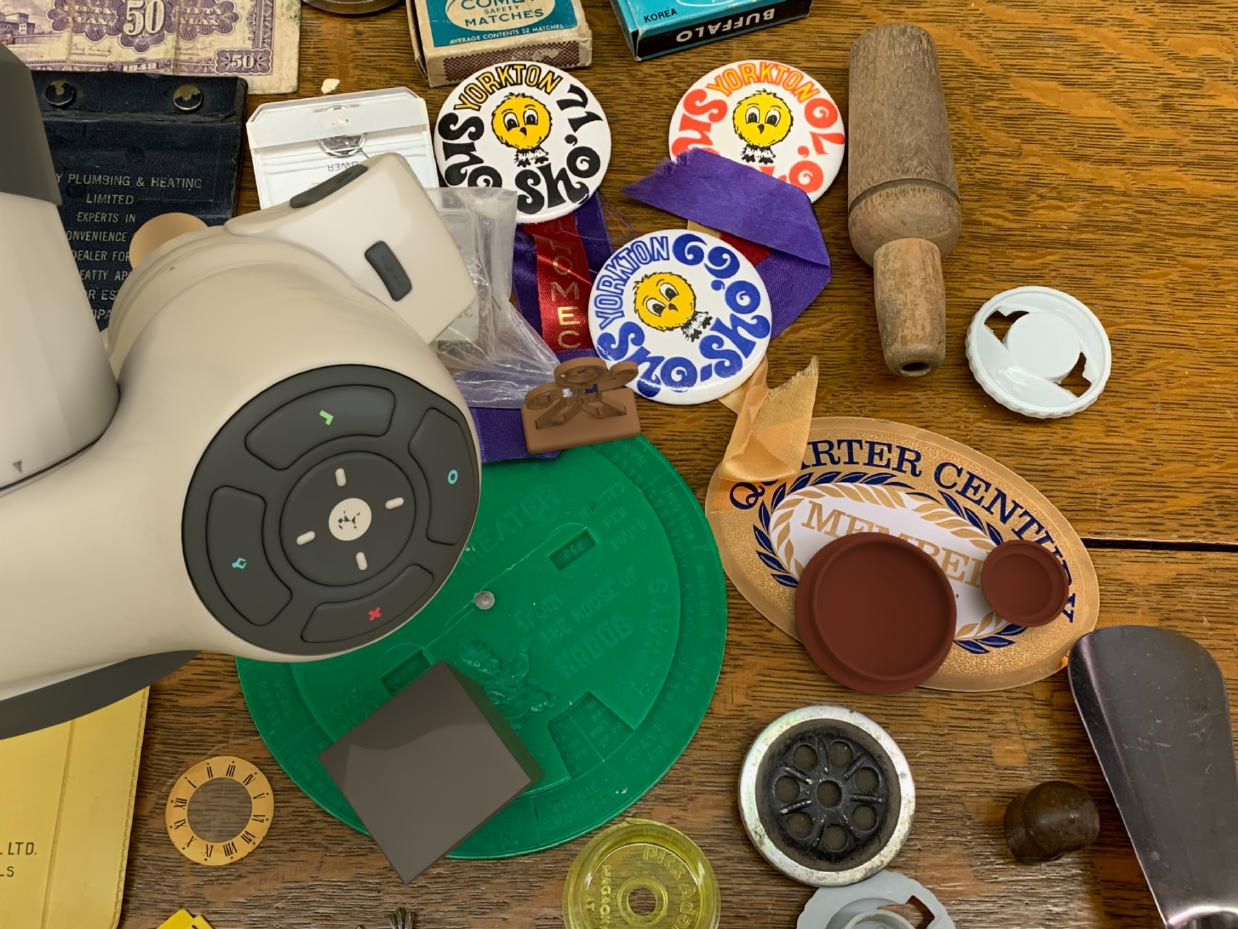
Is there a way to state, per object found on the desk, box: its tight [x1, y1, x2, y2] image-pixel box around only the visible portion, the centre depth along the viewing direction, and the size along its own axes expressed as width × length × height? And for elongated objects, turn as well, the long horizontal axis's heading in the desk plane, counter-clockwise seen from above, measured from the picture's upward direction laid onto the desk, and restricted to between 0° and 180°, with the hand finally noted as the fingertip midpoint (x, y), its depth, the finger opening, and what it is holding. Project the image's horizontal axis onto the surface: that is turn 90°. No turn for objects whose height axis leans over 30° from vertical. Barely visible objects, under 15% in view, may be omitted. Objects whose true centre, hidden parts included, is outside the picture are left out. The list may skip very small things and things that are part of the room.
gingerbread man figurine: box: [520, 356, 642, 455], centre depth 69 cm, size 9×4×12 cm, turn 101°
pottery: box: [794, 531, 1070, 696], centre depth 69 cm, size 12×20×4 cm, turn 100°
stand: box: [316, 659, 546, 886], centre depth 58 cm, size 8×8×18 cm
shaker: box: [128, 212, 209, 270], centre depth 46 cm, size 4×4×10 cm
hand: (205, 287), depth 46 cm, fingers closed on shaker, 3 cm apart
